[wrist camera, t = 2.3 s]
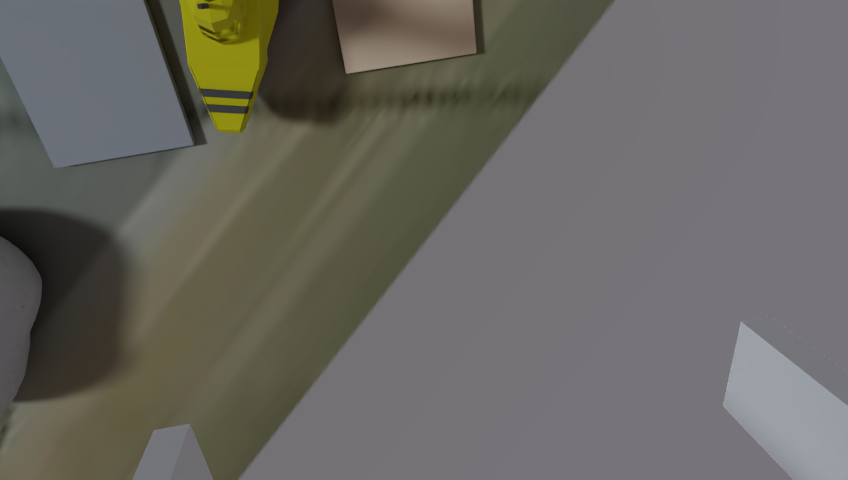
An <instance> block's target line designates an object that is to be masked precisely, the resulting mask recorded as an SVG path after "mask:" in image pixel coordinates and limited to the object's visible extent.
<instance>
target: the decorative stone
mask: <svg viewBox="0 0 848 480" xmlns="http://www.w3.org/2000/svg"><path fill="white" fill-rule="evenodd" d="M41 295H42V280H41V277H40V274H39V272H38V271H37V269H36V267H35V266H34V264H33V263H32V261H31V260H30V259H29V258H28V257H27V256H26V255H25V254H24V253H23V252H22V251H21V250H20V249H18V248H17V247H16V246H14V245H13V244H12V243H10V242H9V241H8V240H6V239H4V238H3V237H1V236H0V413H1V412H2V411H3V410H4V409H5V408H6V407H7V406H8V405H9V404H10V403H11V402H12V400H13V399H14V398H15V396H16V395H17V393H18V390H19V387H20V385H21V383H22V381H23V379H24V376H25V372H26V367H27V362H28V353H29V349H30V331H31V328H32V326H33V323H34V321H35V319H36V316H37V313H38V310H39V306H40V302H41Z"/></svg>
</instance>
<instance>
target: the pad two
mask: <svg viewBox="0 0 848 480" xmlns="http://www.w3.org/2000/svg"><path fill="white" fill-rule="evenodd" d="M332 3H333V8H334V13H335V18H336V24H337V29H338V34H339V39H340V44H341V50H342V55H343V60H344V65H345V71H346V74H348V73H354V72H361V71H367V70H373V69H380V68H386V67H392V66H398V65H405V64H411V63H417V62H424V61H430V60H436V59H443V58H449V57H455V56H461V55H468V54H474V53H477V52H476V39H475V26H474V13H473V0H332Z"/></svg>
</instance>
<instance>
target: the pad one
mask: <svg viewBox="0 0 848 480" xmlns="http://www.w3.org/2000/svg"><path fill="white" fill-rule="evenodd" d="M0 57H1V59H2V61H3V63H4V65H5V67H6V69H7V71H8V73H9V75H10V77H11V79H12V81H13V83H14V86H15V88H16V90H17V92H18V94H19V96H20V98H21V100H22V102H23V104H24V106H25V108H26V110H27V112H28V114H29V116H30V118H31V120H32V123H33V125H34V127H35V129H36V131H37V133H38V135H39V137H40V139H41V141H42V143H43V145H44V147H45V149H46V151H47V153H48V155H49V157H50V159H51V162H52V164H53V166H54V168H60V167H66V166H72V165H78V164H84V163H90V162H96V161H102V160H108V159H114V158H120V157H126V156H132V155H138V154H144V153H150V152H156V151H162V150H168V149H174V148H180V147H186V146H192V145H194V144H195V143H196V142H195V139H194V136H193V133H192V131H191V128H190V125H189V122H188V119H187V116H186V113H185V110H184V107H183V104H182V102H181V99H180V96H179V93H178V90H177V87H176V84H175V81H174V78H173V75H172V72H171V70H170V67H169V64H168V61H167V58H166V55H165V52H164V49H163V46H162V43H161V40H160V38H159V35H158V32H157V29H156V26H155V23H154V20H153V17H152V14H151V11H150V9H149V6H148V3H147V0H0Z"/></svg>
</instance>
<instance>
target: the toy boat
mask: <svg viewBox="0 0 848 480" xmlns="http://www.w3.org/2000/svg"><path fill="white" fill-rule="evenodd" d="M179 2H180V5H181V11H182V19H183V27H184V35H185V43H186V52H187V60H188V66H189V68H190V70H191V73H192V75H193V77H194V80H195V82H196V84H197V86H198V89H199V91H200V94H201V96H202V98H203V100H204V103H205V105H206V107H207V110H208V112H209V114H210V116H211V119H212V121H213V123H214V125H215V127H216V129H218V131H219V132H226V133H241V132H242V131H243V130H244V129H245V127H246V125H247V122H248V120H249V118H250V114H251V111H252V108H253V104H254V101H255V98H256V95H257V91H258V88H259V85H260V82H261V80H262V77H263V75H264V72H265V68H266V65H267V62H268V56H267V48H268V44H269V41H270V38H271V34H272V31H273V28H274V24H275V21H276V17H277V14H278V7H279V0H179Z"/></svg>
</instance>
